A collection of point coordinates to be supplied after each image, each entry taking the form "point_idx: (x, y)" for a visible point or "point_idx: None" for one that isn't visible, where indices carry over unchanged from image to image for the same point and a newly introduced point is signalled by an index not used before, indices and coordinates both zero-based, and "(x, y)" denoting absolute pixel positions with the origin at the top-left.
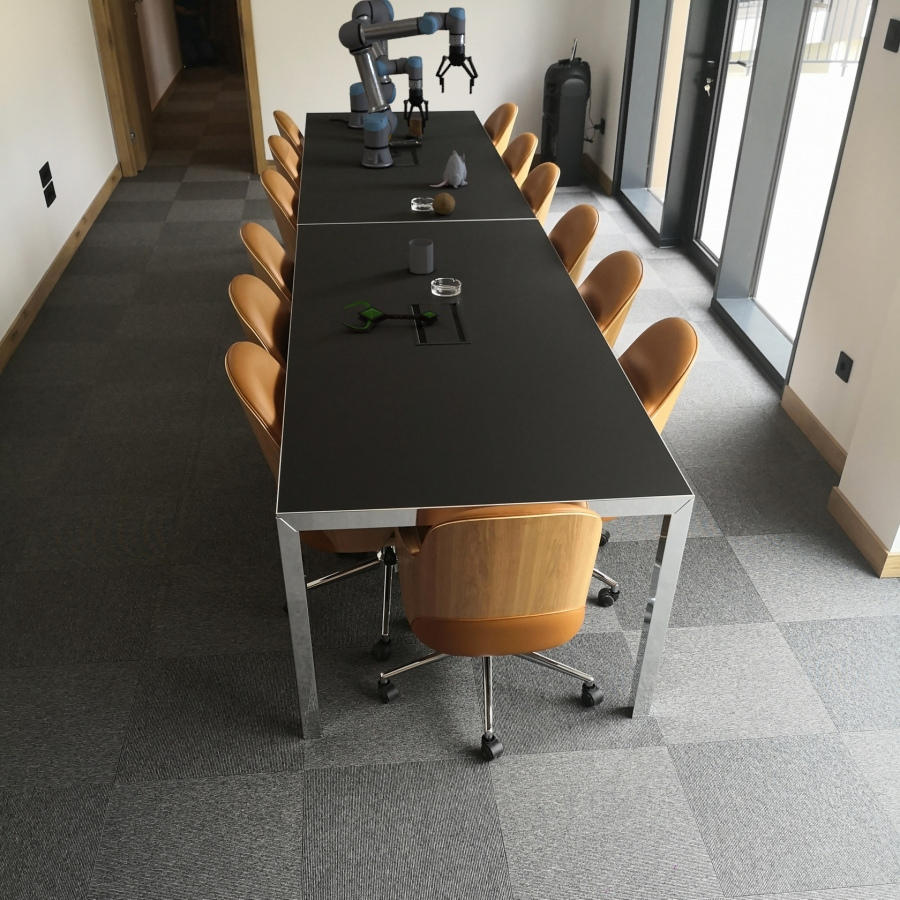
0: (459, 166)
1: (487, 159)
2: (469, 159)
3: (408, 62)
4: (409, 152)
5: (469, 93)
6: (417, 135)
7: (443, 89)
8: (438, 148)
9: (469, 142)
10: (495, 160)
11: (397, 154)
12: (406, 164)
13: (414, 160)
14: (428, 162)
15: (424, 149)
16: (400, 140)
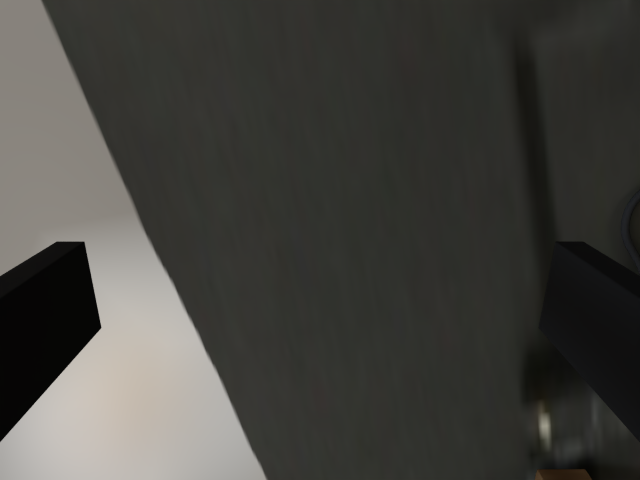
0: None
1: (183, 222)
2: (267, 206)
3: None
4: None
5: (78, 246)
6: (554, 474)
7: (578, 300)
8: (442, 360)
9: (326, 464)
10: (141, 212)
11: (633, 201)
12: (576, 40)
13: (538, 132)
14: (461, 107)
15: (503, 334)
16: (617, 446)
